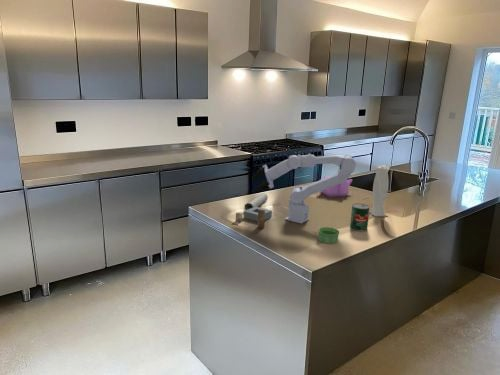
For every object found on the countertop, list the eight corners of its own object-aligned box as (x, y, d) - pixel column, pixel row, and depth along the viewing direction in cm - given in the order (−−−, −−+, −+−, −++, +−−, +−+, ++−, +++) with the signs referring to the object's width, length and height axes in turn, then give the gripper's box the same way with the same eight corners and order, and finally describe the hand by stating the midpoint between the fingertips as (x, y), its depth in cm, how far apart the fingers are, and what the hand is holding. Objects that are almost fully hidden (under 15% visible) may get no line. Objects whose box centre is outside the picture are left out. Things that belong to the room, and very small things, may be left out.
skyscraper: (389, 217, 191) (396, 164, 184) (374, 218, 190) (380, 164, 183) (381, 212, 199) (387, 161, 192) (366, 212, 198) (372, 161, 191)
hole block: (271, 217, 187) (271, 210, 186) (260, 222, 180) (260, 215, 179) (255, 212, 193) (255, 206, 192) (243, 217, 185) (243, 211, 184)
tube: (259, 192, 217) (243, 203, 194) (267, 191, 215) (252, 202, 192) (261, 201, 218) (245, 213, 195) (270, 199, 215) (254, 211, 193)
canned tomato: (357, 232, 171) (359, 209, 168) (346, 226, 177) (348, 204, 175) (370, 229, 174) (373, 207, 171) (359, 224, 181) (362, 202, 178)
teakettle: (316, 195, 230) (318, 175, 226) (325, 189, 244) (327, 170, 241) (343, 199, 221) (345, 179, 218) (351, 193, 236) (353, 174, 232)
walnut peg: (265, 227, 174) (266, 210, 172) (261, 228, 171) (262, 212, 169) (260, 225, 176) (260, 209, 173) (256, 227, 173) (256, 211, 171)
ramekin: (318, 235, 166) (319, 226, 165) (339, 237, 163) (340, 228, 162) (316, 242, 158) (316, 233, 156) (337, 245, 155) (338, 236, 154)
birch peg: (243, 220, 181) (243, 213, 180) (239, 222, 179) (239, 214, 178) (238, 219, 183) (238, 211, 182) (234, 221, 180) (234, 213, 179)
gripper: (270, 156, 182) (246, 169, 186) (277, 176, 172) (252, 190, 176) (276, 164, 187) (253, 177, 191) (283, 184, 177) (259, 198, 181)
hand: (253, 184), depth 184 cm, fingers open, 7 cm apart
